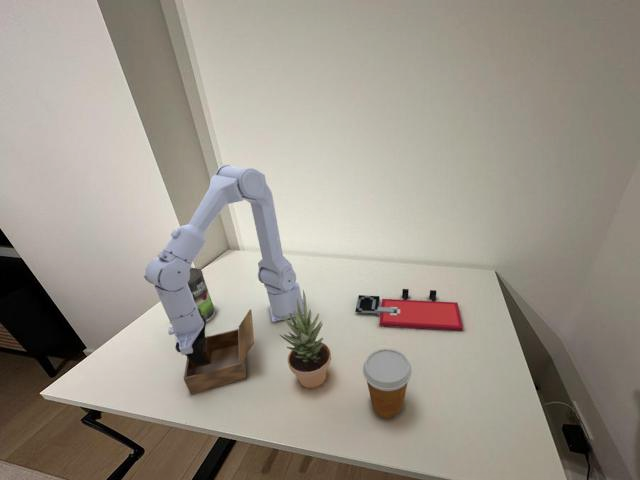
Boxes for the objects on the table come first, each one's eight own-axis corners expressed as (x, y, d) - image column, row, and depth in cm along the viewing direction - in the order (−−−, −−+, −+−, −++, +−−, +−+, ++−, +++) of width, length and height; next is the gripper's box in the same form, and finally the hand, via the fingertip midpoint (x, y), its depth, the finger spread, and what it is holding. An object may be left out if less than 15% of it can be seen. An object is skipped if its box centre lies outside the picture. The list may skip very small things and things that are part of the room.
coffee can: (222, 307, 99) (209, 268, 92) (202, 329, 91) (186, 288, 83) (193, 304, 101) (178, 266, 94) (170, 325, 93) (152, 285, 85)
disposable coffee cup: (362, 388, 71) (360, 349, 65) (404, 384, 72) (406, 344, 65) (366, 427, 63) (364, 387, 57) (414, 423, 63) (417, 382, 57)
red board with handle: (359, 294, 102) (352, 325, 90) (359, 286, 101) (352, 317, 88) (455, 298, 99) (462, 331, 86) (456, 291, 97) (463, 324, 85)
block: (211, 352, 78) (206, 339, 76) (210, 363, 75) (205, 351, 73) (193, 356, 77) (188, 344, 75) (192, 368, 74) (186, 356, 72)
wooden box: (244, 342, 85) (239, 328, 83) (246, 378, 75) (241, 363, 72) (195, 355, 82) (189, 340, 79) (190, 394, 71) (183, 379, 69)
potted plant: (316, 402, 68) (300, 311, 56) (283, 384, 73) (262, 296, 60) (342, 370, 76) (333, 283, 63) (311, 356, 80) (297, 272, 67)
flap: (238, 326, 82) (240, 326, 82) (239, 361, 72) (241, 361, 72) (250, 309, 81) (251, 309, 81) (252, 342, 70) (254, 342, 71)
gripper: (166, 295, 73) (185, 340, 80) (154, 336, 61) (178, 383, 68) (199, 289, 75) (215, 333, 82) (194, 326, 63) (213, 374, 70)
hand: (200, 355), depth 75 cm, fingers closed on block, 4 cm apart
